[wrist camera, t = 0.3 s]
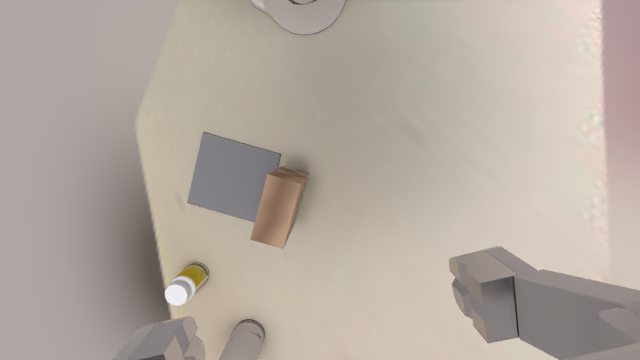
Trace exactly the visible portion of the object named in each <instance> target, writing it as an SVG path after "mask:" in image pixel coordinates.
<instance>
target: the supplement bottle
mask: <svg viewBox="0 0 640 360" xmlns="http://www.w3.org/2000/svg"><path fill="white" fill-rule="evenodd" d="M208 277H209V272H208V269H207V268H206V267H205V266H204V265H203V264H201V263H193V264H190V265H189V266H188V267H187V268H186V269H184V270H183V271H182V272H181V273H180V274H179V275H178V276H177V277H175V278H174V279H173V280H172V282H171V284H170V285H169V287H168V288H167V289H166V291H165V298H166V300H167V301H168V302H169V303H170V304H172V305H175V306H179V305H182V304H184V303H185V302H186V301H187V300H189V299H191V298H192V297H193V296H194V295H195V294H196V293H197V292H198V291H199V289H200V288H201V287H202V286H203V285H204V284H205V283H206V281H207V280H208Z"/></svg>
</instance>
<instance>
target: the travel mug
mask: <svg viewBox="0 0 640 360" xmlns="http://www.w3.org/2000/svg"><path fill="white" fill-rule="evenodd" d="M263 340H264V330H263V328H262V326H261V325H260V324H259V323H257V322H256V321H253V320H244V321H242V322H240V323H239V324H238V325H237V326H236V328H235V329H234V332H233V333H232V335H231V337H230V339H229V341H228V343H227V345H226V347H225V349H224V351H223V353H222V355H221V357H220V359H219V360H257V358H258V355H259V352H260V349H261V346H262V343H263Z"/></svg>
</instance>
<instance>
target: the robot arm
mask: <svg viewBox="0 0 640 360" xmlns="http://www.w3.org/2000/svg"><path fill="white" fill-rule="evenodd" d="M345 2H346V0H252V3H253V5H254V6H255V7H256V8H258V9H260V10H262V11H264V12H266V13H268V14H269V15H270V16H271V17H272V18H273V19H274V20H275V22H276V23H277V24H279V25H280V26H281V27H282V28H284V29H286V30H288V31H290V32H293V33H296V34H313V33H317V32H319V31H322V30H324V29H325V28H327V27H328V26H330V25H331V24H332V23H333V22H334V21H335V20H336V19H337V17H338V16H339V14H340V13H341V11H342V9H343V6H344V4H345ZM449 267H450V272H451V273H452V274H453V275H454V276H455V279H454V281H453V283H452V287H453V293H454V296H455V299H456V302H457V304H458V306H459V308H460V309H461V311H462V312H463V313H464V315H465V316H467V317H470V318H472V319H473V325H474V327H475V328H476V330H477V331H478V332H479V333H480V335H481V336H482V337H483V338H484V339H485V341H486V342H487V343H492V342H497V341H503V340H508V339H513V338H518V337H520V339H521V340H523V341H525V342H527V343H528V344H530V345H532V346H534V347H536V348H538V349H540V350H542V351H544V352H546V353H548V354H549V355H551V356H553V357H555V358H557V359H559V360H640V291H639V290H635V289H630V288H626V287H621V286H616V285H612V284H607V283H603V282H598V281H594V280H589V279H585V278H580V277H575V276H571V275H566V274H562V273H557V272H553V271H548V270H539V271H538V270H536V269H535V268H533V267H532V266H530V265H529V264H527V263H526V262H524V261H522V260H521V259H519V258H518V257H516V256H515V255H513V254H512V253H510V252H509V251H507V250H506V249H504V248H502V247H499V246H496V247H492V248H488V249H485V250H481V251H477V252H473V253H469V254H465V255H461V256H457V257H453V258H450V260H449ZM197 328H198V327H197V325H196V322H195V320H194V318H192V317H191V316H188V317H183V318H178V319H173V320H168V321H163V322H159V323H153V324H149V325H145V326H142V327H140V328H138V330H137V331H136V332H135V333H134V334H133V336H132V337H131V338H130V339H129V340H128V342H127V343H126V344H125V345H124V347H123V348H122V349H121V350H120V351H119V353H118V354H117V355H116V356H115V358H114V359H113V360H205V348H204V344H203V341H202V340H201V339H200V338H199V337H197V336H196V335H195V333H196V331H197Z"/></svg>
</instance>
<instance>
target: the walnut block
mask: <svg viewBox="0 0 640 360" xmlns="http://www.w3.org/2000/svg"><path fill="white" fill-rule="evenodd" d="M308 174H309V173H306V172H303V171H299V170H296V169H292V168H289V167H285V166H282V167H280V168H278V169H276V170H275V171H273V172H271V173H269V174H267V177H266V181H265V185H264V189H263V193H262V197H261V201H260V204H259V208H258V212H257V216H256V220H255V224H254V228H253V231H252V235H251V240H254V241H258V242H261V243H265V244H268V245H272V246H275V247H279V248H282V249H283V248H284V246H285V244H286V242H287V239H288V237H289V235H290V233H291V230H292V228H293V226H294V224H295V221H296V217H297V214H298V210H299V206H300V203H301V199H302V196H303V192H304V189H305V185H306V181H307V178H308Z"/></svg>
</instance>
